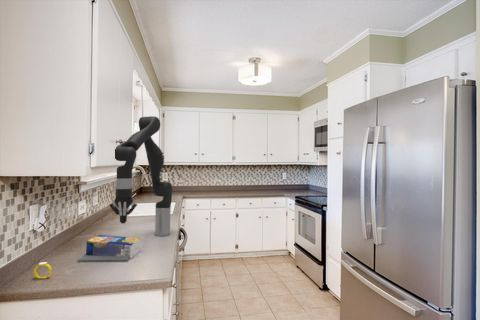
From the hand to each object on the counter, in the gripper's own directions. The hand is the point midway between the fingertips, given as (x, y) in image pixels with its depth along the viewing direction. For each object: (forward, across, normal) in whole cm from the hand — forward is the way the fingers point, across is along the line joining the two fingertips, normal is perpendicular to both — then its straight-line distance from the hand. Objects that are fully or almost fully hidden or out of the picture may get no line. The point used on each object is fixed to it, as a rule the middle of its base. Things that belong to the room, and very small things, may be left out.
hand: (123, 223), depth 137 cm
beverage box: (+13, -6, -1) cm, 14 cm away
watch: (+16, +22, +25) cm, 37 cm away
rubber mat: (+16, +6, 0) cm, 17 cm away
